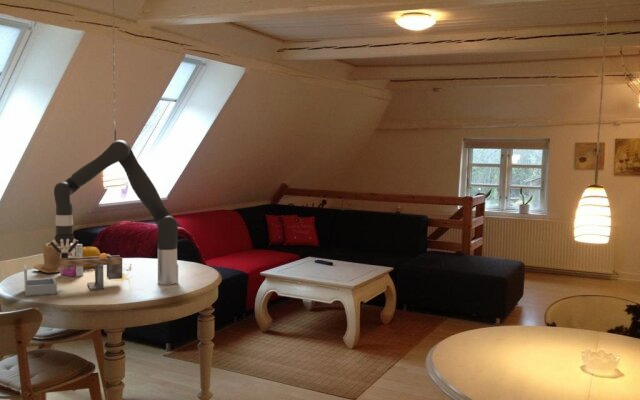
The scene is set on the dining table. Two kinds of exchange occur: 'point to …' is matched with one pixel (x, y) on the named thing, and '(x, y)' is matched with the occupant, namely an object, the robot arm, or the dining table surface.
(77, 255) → the candy bar box
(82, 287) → the dining table surface
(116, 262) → the lever
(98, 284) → the lever stand
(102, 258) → the ball
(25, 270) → the grey tray
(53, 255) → the brown top hat
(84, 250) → the yellow pumpkin
